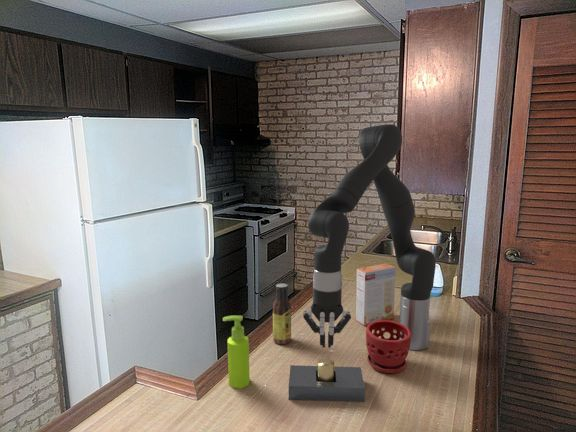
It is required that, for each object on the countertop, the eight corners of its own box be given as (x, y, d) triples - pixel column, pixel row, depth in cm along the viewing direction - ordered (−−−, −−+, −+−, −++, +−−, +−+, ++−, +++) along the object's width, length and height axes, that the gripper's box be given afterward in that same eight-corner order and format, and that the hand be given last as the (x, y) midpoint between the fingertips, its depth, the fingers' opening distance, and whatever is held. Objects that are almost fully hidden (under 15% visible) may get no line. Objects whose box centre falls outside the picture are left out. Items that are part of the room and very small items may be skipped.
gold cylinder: (333, 384, 116) (333, 358, 115) (334, 394, 112) (334, 367, 110) (317, 384, 116) (317, 358, 115) (317, 393, 112) (318, 367, 111)
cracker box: (384, 313, 163) (386, 262, 159) (394, 319, 157) (396, 267, 153) (354, 320, 157) (356, 267, 153) (364, 326, 152) (365, 272, 148)
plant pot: (356, 363, 127) (357, 327, 125) (384, 350, 135) (385, 316, 133) (390, 383, 117) (391, 344, 115) (418, 367, 125) (420, 330, 122)
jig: (360, 379, 118) (360, 367, 118) (364, 401, 109) (364, 388, 108) (290, 377, 120) (290, 365, 119) (288, 399, 110) (288, 385, 109)
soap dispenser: (225, 377, 120) (223, 312, 116) (249, 375, 121) (248, 311, 117) (224, 389, 114) (222, 321, 111) (249, 387, 115) (247, 320, 111)
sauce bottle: (289, 346, 138) (288, 289, 134) (270, 344, 139) (270, 288, 135) (292, 337, 144) (292, 282, 140) (275, 335, 145) (274, 281, 141)
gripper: (351, 280, 112) (350, 340, 115) (302, 280, 112) (301, 338, 116) (354, 291, 104) (352, 354, 108) (301, 290, 105) (301, 352, 108)
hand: (326, 346), depth 112 cm, fingers closed
